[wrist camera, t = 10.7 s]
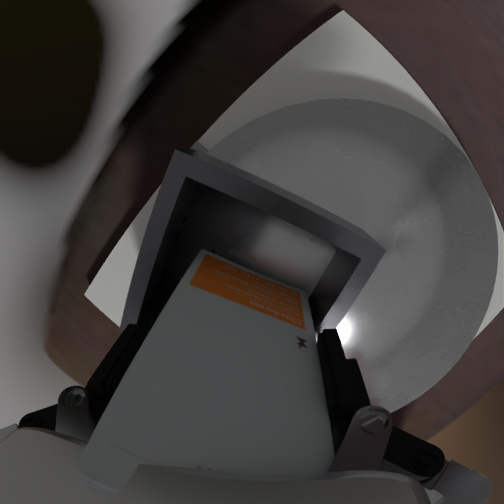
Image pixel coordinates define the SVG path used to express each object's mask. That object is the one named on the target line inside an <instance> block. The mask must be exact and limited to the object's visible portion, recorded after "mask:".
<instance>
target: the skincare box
mask: <svg viewBox="0 0 504 504" xmlns="http://www.w3.org/2000/svg"><path fill="white" fill-rule="evenodd" d="M334 458H335V455H334V446H333V439H332V432H331V425H330V418H329V411H328V405H327V399H326V393H325V387H324V380H323V374H322V368H321V363H320V357H319V352H318V347H317V342H316V336H315V330H314V325H313V320H312V315H311V310H310V306H309V300H308V295H307V292H306V291H304V290H301V289H298V288H295V287H292V286H289V285H287V284H285V283H282V282H280V281H277V280H275V279H272V278H270V277H267V276H265V275H262V274H260V273H257V272H255V271H252V270H250V269H247V268H245V267H243V266H241V265H239V264H236V263H234V262H232V261H230V260H227V259H225V258H223V257H220V256H218V255H216V254H213V253H211V252H209V251H207V250H204V249H201V250H200V251H199V253H198V254H197V256H196V257H195V259H194V260H193V262H192V263H191V265H190V267H189V268H188V270H187V271H186V273H185V275H184V276H183V278H182V279H181V281H180V283H179V284H178V286H177V287H176V289H175V290H174V292H173V294H172V295H171V297H170V299H169V300H168V302H167V304H166V305H165V307H164V308H163V310H162V312H161V313H160V315H159V317H158V318H157V320H156V322H155V323H154V325H153V327H152V329H151V330H150V332H149V334H148V335H147V337H146V339H145V340H144V342H143V344H142V345H141V347H140V349H139V351H138V352H137V354H136V356H135V357H134V359H133V361H132V362H131V364H130V366H129V368H128V370H127V371H126V373H125V374H124V376H123V378H122V380H121V382H120V384H119V385H118V387H117V389H116V391H115V393H114V395H113V396H112V398H111V400H110V402H109V404H108V406H107V408H106V409H105V411H104V413H103V415H102V417H101V419H100V420H99V422H98V424H97V426H96V428H95V430H94V432H93V434H92V436H91V438H90V440H89V442H88V444H87V445H86V447H85V449H84V451H83V453H82V455H81V457H80V459H79V461H78V464H77V466H76V469H75V475H76V478H77V480H78V481H79V482H81V483H83V484H85V485H88V486H90V487H93V488H95V489H98V490H101V491H104V492H107V493H119V492H121V491H123V489H124V488H125V486H126V485H127V483H128V482H129V480H130V478H131V477H132V475H133V473H134V471H135V470H136V468H137V466H138V465H139V464H146V465H156V466H169V467H189V468H196V469H204V470H212V471H222V472H234V473H250V474H307V473H324V472H328V470H329V468H330V466H331V464H332V462H333V460H334Z"/></svg>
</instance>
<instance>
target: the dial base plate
mask: <svg viewBox="0 0 504 504" xmlns="http://www.w3.org/2000/svg"><path fill="white" fill-rule="evenodd" d="M343 98H347V99H357V100H365V101H373V102H378V103H381V104H385V105H389V106H392V107H395V108H399V109H402V110H404V111H406V112H408V113H410V114H412V115H414V116H416V117H418V118H420V119H422V120H424V121H426V122H428V123H429V124H430V125H432V126H433V127H435V128H436V129H438V130H439V131H440V132H442V133H443V134H444V135H446V136H447V137H448V138H449V139H450V140H451V141H452V142H453V143H454V144H455V145H456V146H457V147H458V148H459V149H460V150H461V151H462V152H463V153H464V155H465V156H466V157H467V159H468V160H469V158H468V156H467V154H466V153H465V151H464V149H463V148H462V146H461V144H460V143H459V141H458V140H457V138H456V137H455V135H454V133H453V132H452V130H451V129H450V127H449V126H448V124H447V123H446V121H445V120H444V119H443V117H442V116H441V114H440V113H439V111H438V110H437V109H436V107H435V106H434V105H433V103H432V102H431V101H430V99H429V98H428V97H427V95H426V94H425V93H424V92H423V90H422V89H421V88H420V87H419V85H418V84H417V83H416V82H415V81H414V79H413V78H412V77H411V76H410V75H409V74H408V72H407V71H406V70H405V69H404V68H403V67H402V66H401V65H400V63H399V62H398V61H397V60H396V59H395V58H394V57H393V56H392V55H391V54H390V53H389V52H388V51H387V50H386V49H385V48H384V47H383V46H382V45H381V44H380V43H379V42H378V41H377V40H376V39H375V38H374V37H373V36H372V35H371V34H370V33H369V32H368V31H367V30H365V29H364V28H363V27H362V26H361V25H360V24H359V23H358V22H357V21H355V20H354V19H353V18H352V17H351V16H349V15H348V14H347V13H346V12H345V11H343V10H342V11H341V12H339V13H338V14H337V15H335V16H334V17H332V18H331V19H330V20H328V21H327V22H326V23H324V24H323V25H322V26H320V27H319V28H318V29H316V30H315V31H314V32H313V33H311V34H310V35H309V36H308V37H306V38H305V39H304V40H303V41H301V42H300V43H299V44H298V45H296V46H295V47H294V48H293V49H292V50H290V51H289V52H288V53H287V54H286V55H285V56H283V57H282V58H281V59H280V60H279V61H278V62H277V63H275V64H274V65H273V66H272V67H271V68H270V69H269V70H268V71H267V72H265V73H264V74H263V75H262V76H261V77H260V78H259V79H258V80H257V81H256V82H255V83H254V84H253V85H251V86H250V87H249V88H248V89H247V90H246V91H245V92H244V93H243V94H242V95H241V96H240V97H239V98H238V99H237V100H236V101H235V102H234V103H233V104H232V105H231V106H230V107H229V108H228V109H227V110H226V111H225V112H224V113H223V114H222V115H221V116H220V117H219V118H218V119H217V121H216V122H215V123H214V124H213V125H212V126H211V127H210V128H209V129H208V130H207V131H206V132H205V133H204V135H203V136H202V137H201V138H200V139H199V140H198V141H196V142H195V143H194V145H193V146H192V147H191V148H190V149H195V150H198V151H200V152H203V153H205V154H206V153H207V152H208V151H209V150H210V149H211V148H213V147H214V146H215V145H216V144H217V143H218V142H220V141H221V140H222V139H223V138H225V137H226V136H227V135H229V134H230V133H232V132H234V131H235V130H237V129H239V128H240V127H242V126H243V125H245V124H247V123H249V122H250V121H252V120H254V119H256V118H258V117H261V116H263V115H265V114H268V113H270V112H273V111H275V110H278V109H280V108H283V107H287V106H291V105H295V104H299V103H304V102H308V101H313V100H324V99H343ZM469 162H470V163H471V161H470V160H469ZM471 164H472V163H471ZM472 166H473V165H472ZM160 187H161V185H160V186H159V187H158V189H157V190H156V191H155V193H154V194H153V195H152V196H151V198H150V199H149V200H148V202H147V203H146V204H145V206H144V207H143V208H142V210H141V211H140V212H139V214H138V215H137V216H136V218H135V219H134V220H133V222H132V223H131V225H130V226H129V227H128V229H127V230H126V232H125V233H124V234H123V236H122V237H121V239H120V240H119V242H118V243H117V244H116V246H115V247H114V249H113V250H112V252H111V253H110V255H109V256H108V258H107V259H106V261H105V262H104V264H103V266H102V267H101V269H100V270H99V272H98V273H97V275H96V277H95V278H94V280H93V281H92V283H91V285H90V286H89V288H88V290H87V291H86V293H85V296H86V297H87V298H88V299H89V300H90V301H91V302H92V303H93V304H94V305H96V306H97V307H98V308H99V309H100V310H101V311H102V312H103V313H104V314H105V315H106V316H108V317H109V318H110V319H111V320H112V321H113V322H114V323H116V324H117V325H118V326H119V327H120V325H121V320H122V316H123V311H124V307H125V303H126V299H127V295H128V291H129V287H130V283H131V279H132V275H133V272H134V268H135V264H136V261H137V257H138V254H139V250H140V247H141V244H142V241H143V237H144V234H145V231H146V228H147V225H148V222H149V219H150V216H151V213H152V210H153V207H154V204H155V201H156V198H157V195H158V192H159V190H160ZM488 197H489V196H488ZM489 199H490V198H489ZM490 202H491V200H490ZM491 205H492V203H491ZM492 208H493V212H494V216H495V222H496V227H497V234H498V267H497V276H496V281H495V286H494V291H493V294H492V298H491V301H490V304H489V307H488V310H487V313H486V315H485V317H484V319H483V322H482V324H481V326H480V328H479V330H478V332H477V333H476V335H475V337H476V336H477V335H478V334H479V333H480V332H481V331H482V330H483V329H484V328H485V327H486V326H487V325H488V324H489V323H490V322H491V321H492V320H493V318H494V317H495V316H496V315H497V314H498V313H499V312H500V311H501V310H502V308H503V307H504V231H503V229H502V226H501V224H500V221H499V219H498V216H497V214H496V212H495V209H494V207H493V205H492ZM475 337H474V338H475Z"/></svg>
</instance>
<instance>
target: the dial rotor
mask: <svg viewBox="0 0 504 504" xmlns="http://www.w3.org/2000/svg"><path fill="white" fill-rule="evenodd" d="M201 249H204V250H207V251H209V252H211V253H213V254H216V255H218V256H220V257H223V258H225V259H227V260H230V261H232V262H234V263H236V264H239V265H241V266H243V267H245V268H247V269H250V270H252V271H255V272H257V273H260V274H262V275H265V276H267V277H270V278H272V279H275V280H277V281H280V282H282V283H285V284H287V285H289V286H292V287H295V288H298V289H301V290H304V291H306V292H307V295H308V300H309V306H310V310H311V315H312V320H313V325H314V330H315V336H316V342H317V336H318V333H322V331H323V329H335V328H336V329H337V330H338V333H339V337H340V340H341V343H342V347H343V350H344V353H345V357H346V359H352V358H355V359H356V360H357V362H358V365H359V368H360V371H361V374H362V377H363V380H364V383H365V387H366V390H367V393H368V396H369V400H370V403H371V405H374V406H380V407H383V408H385V409H386V410H388V411H389V412H390V413H392V412H394V411H396V410H398V409H400V408H402V407H403V406H405V405H407V404H408V403H410V402H412V401H413V400H415V399H416V398H418V397H419V396H421V395H422V394H423V393H425V392H426V391H427V390H429V389H430V388H431V387H433V386H434V385H435V384H436V383H437V382H438V381H439V380H440V379H441V378H442V377H443V376H445V375H446V374H447V373H448V371H449V370H450V369H451V368H452V367H453V366H454V365H455V364H456V363H457V361H458V360H459V359H460V358H461V356H462V355H463V354H464V352H465V351H466V349H467V348H468V347H469V345H470V344H471V342H472V340H473V339H474V337H475V335H476V333H477V332H478V330H479V328H480V326H481V324H482V322H483V319H484V317H485V315H486V313H487V310H488V307H489V304H490V301H491V298H492V294H493V291H494V286H495V281H496V276H497V267H498V234H497V227H496V222H495V216H494V212H493V208H492V205H491V202H490V199H489V197H488V194H487V191H486V189H485V187H484V185H483V183H482V181H481V179H480V177H479V175H478V173H477V171H476V170H475V169H474V167H473V166H472V164H471V163H470V162H469V160H468V159H467V157H466V156H465V155H464V153H463V152H462V151H461V150H460V149H459V148H458V147H457V146H456V145H455V144H454V143H453V142H452V141H451V140H450V139H449V138H448V137H447V136H446V135H444V134H443V133H442V132H440V131H439V130H438V129H436V128H435V127H433V126H432V125H430V124H429V123H428V122H426V121H424V120H422V119H420V118H418V117H416V116H414V115H412V114H410V113H408V112H406V111H404V110H402V109H399V108H395V107H392V106H389V105H385V104H381V103H378V102H373V101H365V100H357V99H347V98H343V99H324V100H313V101H308V102H304V103H299V104H295V105H291V106H287V107H283V108H280V109H278V110H275V111H273V112H270V113H268V114H265V115H263V116H261V117H258V118H256V119H254V120H252V121H250V122H249V123H247V124H245V125H243V126H242V127H240V128H239V129H237V130H235V131H234V132H232V133H230V134H229V135H227V136H226V137H225V138H223V139H222V140H221V141H220V142H218V143H217V144H216V145H215V146H214V147H213V148H211V149H210V150H209V151H208V152H207V153H206V154H205V153H203V152H200V151H198V150H195V149H175V151H174V153H173V156H172V158H171V161H170V163H169V166H168V168H167V171H166V173H165V176H164V179H163V181H162V184H161V187H160V190H159V192H158V195H157V198H156V201H155V204H154V207H153V210H152V213H151V216H150V219H149V222H148V225H147V228H146V231H145V234H144V237H143V241H142V244H141V247H140V250H139V254H138V257H137V261H136V264H135V268H134V272H133V275H132V279H131V283H130V287H129V291H128V295H127V299H126V303H125V307H124V311H123V316H122V320H121V325H120V329H119V331H121V332H123V331H124V330H125V328H126V327H127V325H128V324H140V325H142V326H143V328H146V330H147V333H148V334H149V332H150V330H151V329H152V327H153V325H154V323H155V322H156V320H157V318H158V317H159V315H160V313H161V312H162V310H163V308H164V307H165V305H166V304H167V302H168V300H169V299H170V297H171V295H172V294H173V292H174V290H175V289H176V287H177V286H178V284H179V283H180V281H181V279H182V278H183V276H184V275H185V273H186V271H187V270H188V268H189V267H190V265H191V263H192V262H193V260H194V259H195V257H196V256H197V254H198V253H199V251H200V250H201Z"/></svg>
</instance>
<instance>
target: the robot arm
mask: <svg viewBox="0 0 504 504" xmlns="http://www.w3.org/2000/svg"><path fill="white" fill-rule="evenodd" d="M147 335H148V333H147V330H146V328H143V326H142V325H140V324H128V325H127V327H126V328H125V330H124V331H123V332H122V334H121V335H120V337H119V338H118V339H117V341H116V342H115V344H114V345H113V346H112V348H111V349H110V351H109V352H108V353H107V355H106V356H105V358H104V359H103V361H102V362H101V363H100V365H99V366H98V368H97V369H96V371H95V372H94V374H93V375H92V377H91V378H90V380H89V381H88V383H87V386H86V387H85V388H84V387H82V386H71V387H68V388H66V389H65V390H63V391H62V392H61V394H60V395H59V398H58V404H56V405H53V406H50V407H47V408H44V409H41V410H38V411H35V412H32V413H29V414H27V415H25V416H24V417H23V418H22V419H21V420H20V422H19V426H18V425H17V424H13V425H10V426H8V427H5V428H2V429H0V504H485V503H486V501H487V499H488V498H489V496H490V493H491V490H492V485H491V482H490V480H489V479H488V478H487V477H486V476H483V475H482V474H479V473H477V472H475V471H473V470H471V469H469V468H467V467H465V466H463V465H461V464H459V463H457V462H455V461H454V460H451V461H450V462H449V461H447V460H445V456H444V454H443V452H442V451H441V449H439V448H438V447H437V446H435V445H433V444H430V443H428V442H426V441H424V440H422V439H419V438H417V437H415V436H413V435H411V434H409V433H407V432H405V431H403V430H401V429H398V428H396V427H394V426H393V417H392V415H391V414H390V412H389V411H388V410H386V409H385V408H383V407H380V406H374V405H371V403H370V400H369V396H368V393H367V390H366V387H365V383H364V380H363V377H362V374H361V371H360V368H359V365H358V362H357V360H356V359H355V358H352V359H346V357H345V353H344V350H343V347H342V343H341V340H340V337H339V333H338V330H337V329H336V328H335V329H323V331H322V333H318V336H317V347H318V352H319V357H320V363H321V368H322V374H323V380H324V387H325V393H326V399H327V405H328V411H329V418H330V425H331V432H332V439H333V446H334V455H335V458H334V460H333V462H332V464H331V466H330V468H329V470H328V472H324V473H307V474H250V473H234V472H222V471H212V470H204V469H196V468H189V467H169V466H156V465H146V464H139V465H138V466H137V468H136V470H135V471H134V473H133V475H132V477H131V478H130V480H129V482H128V483H127V485H126V486H125V488H124V489H123V491H121V492H119V493H107V492H104V491H101V490H98V489H95V488H93V487H90V486H88V485H85V484H83V483H81V482H79V481H78V480H77V478H76V475H75V469H76V466H77V464H78V461H79V459H80V457H81V455H82V453H83V451H84V449H85V447H86V445H87V444H88V442H89V440H90V438H91V436H92V434H93V432H94V430H95V428H96V426H97V424H98V422H99V420H100V419H101V417H102V415H103V413H104V411H105V409H106V408H107V406H108V404H109V402H110V400H111V398H112V396H113V395H114V393H115V391H116V389H117V387H118V385H119V384H120V382H121V380H122V378H123V376H124V374H125V373H126V371H127V370H128V368H129V366H130V364H131V362H132V361H133V359H134V357H135V356H136V354H137V352H138V351H139V349H140V347H141V345H142V344H143V342H144V340H145V339H146V337H147Z"/></svg>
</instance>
